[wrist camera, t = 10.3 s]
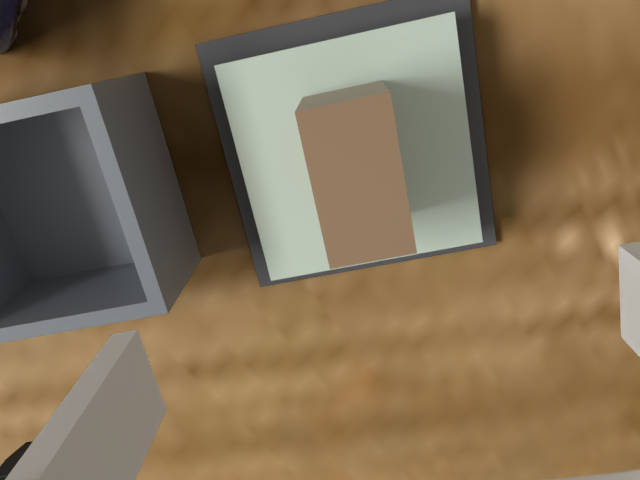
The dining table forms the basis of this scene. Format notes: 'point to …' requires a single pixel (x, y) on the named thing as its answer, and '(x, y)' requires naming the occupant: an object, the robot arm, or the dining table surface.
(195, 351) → the dining table surface
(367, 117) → the block on square base
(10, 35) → the dark elongated oval piece
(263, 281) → the mat
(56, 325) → the storage box
